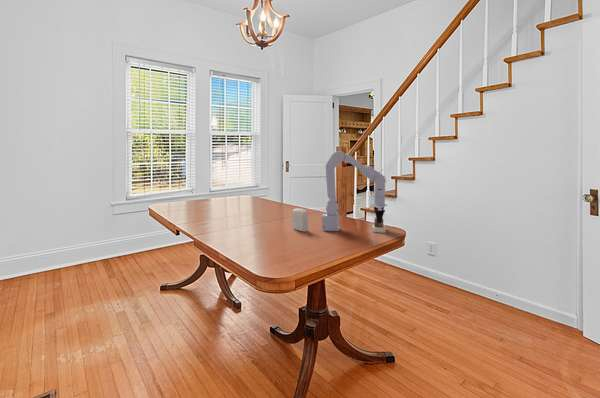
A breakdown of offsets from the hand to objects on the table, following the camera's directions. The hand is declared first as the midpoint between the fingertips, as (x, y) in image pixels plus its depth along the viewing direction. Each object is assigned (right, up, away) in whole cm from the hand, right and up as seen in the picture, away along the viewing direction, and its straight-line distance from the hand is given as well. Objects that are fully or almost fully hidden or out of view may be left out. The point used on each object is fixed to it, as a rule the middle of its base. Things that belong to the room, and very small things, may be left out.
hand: (378, 221), depth 178 cm
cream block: (0, -6, +1) cm, 6 cm away
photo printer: (-43, -6, +6) cm, 44 cm away
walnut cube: (0, -3, 0) cm, 3 cm away
